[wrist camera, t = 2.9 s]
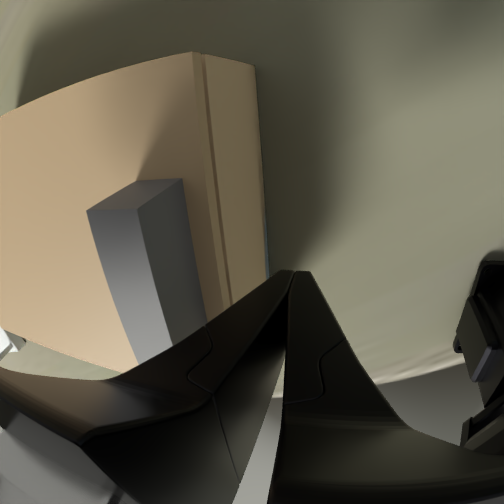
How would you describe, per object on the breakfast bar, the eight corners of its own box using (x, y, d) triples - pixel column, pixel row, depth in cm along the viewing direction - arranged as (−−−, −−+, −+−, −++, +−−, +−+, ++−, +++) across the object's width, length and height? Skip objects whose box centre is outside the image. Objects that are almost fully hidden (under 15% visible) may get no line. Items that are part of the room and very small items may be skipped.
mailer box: (254, 65, 13) (204, 53, 8) (271, 304, 19) (244, 383, 14) (13, 125, 17) (-51, 148, 12) (55, 278, 23) (9, 321, 18)
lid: (200, 53, 8) (141, 43, 5) (242, 388, 14) (223, 443, 11) (-55, 150, 12) (-90, 167, 9) (6, 323, 18) (-19, 348, 16)
